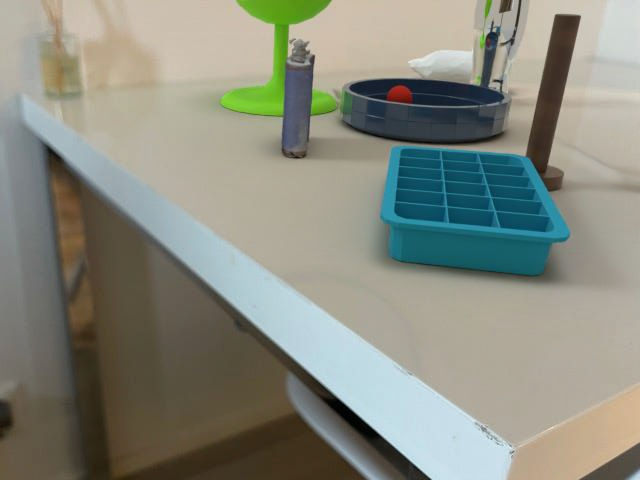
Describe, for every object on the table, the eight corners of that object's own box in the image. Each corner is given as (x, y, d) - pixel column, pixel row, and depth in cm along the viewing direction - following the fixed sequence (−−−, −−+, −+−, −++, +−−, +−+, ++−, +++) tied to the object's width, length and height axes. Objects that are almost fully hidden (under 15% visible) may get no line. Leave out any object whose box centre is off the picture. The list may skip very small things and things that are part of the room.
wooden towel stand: (548, 174, 63) (584, 13, 56) (570, 191, 58) (613, 17, 52) (495, 173, 63) (526, 11, 56) (514, 190, 58) (549, 16, 52)
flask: (306, 158, 66) (312, 44, 61) (277, 157, 66) (281, 43, 61) (310, 137, 74) (316, 35, 69) (284, 135, 74) (288, 34, 70)
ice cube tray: (520, 188, 59) (527, 155, 57) (563, 285, 41) (575, 240, 40) (388, 176, 61) (392, 144, 60) (374, 263, 43) (379, 220, 42)
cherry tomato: (407, 109, 86) (410, 84, 85) (412, 114, 83) (416, 88, 82) (383, 108, 86) (385, 83, 85) (387, 113, 83) (390, 87, 82)
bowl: (476, 110, 90) (481, 79, 88) (530, 146, 72) (537, 109, 71) (332, 106, 90) (334, 76, 88) (351, 142, 72) (354, 105, 70)
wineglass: (241, 118, 81) (243, -45, 73) (207, 95, 95) (205, -46, 87) (358, 112, 86) (371, -42, 78) (309, 91, 100) (317, -43, 92)
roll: (407, 81, 110) (411, 45, 108) (482, 86, 107) (488, 50, 105) (403, 87, 105) (408, 49, 103) (482, 92, 102) (489, 54, 100)
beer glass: (465, 95, 100) (482, -14, 93) (513, 100, 97) (535, -12, 90) (456, 103, 94) (474, -13, 87) (507, 108, 91) (530, -11, 85)
